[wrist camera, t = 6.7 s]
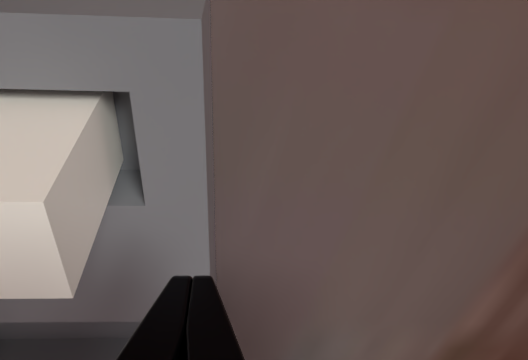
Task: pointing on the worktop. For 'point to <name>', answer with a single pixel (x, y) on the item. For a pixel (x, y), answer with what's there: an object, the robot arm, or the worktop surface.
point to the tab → (53, 186)
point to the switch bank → (134, 164)
